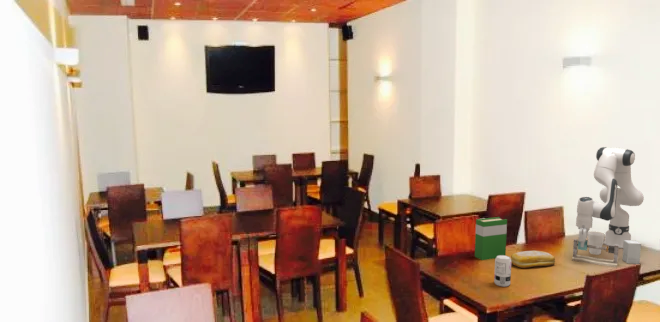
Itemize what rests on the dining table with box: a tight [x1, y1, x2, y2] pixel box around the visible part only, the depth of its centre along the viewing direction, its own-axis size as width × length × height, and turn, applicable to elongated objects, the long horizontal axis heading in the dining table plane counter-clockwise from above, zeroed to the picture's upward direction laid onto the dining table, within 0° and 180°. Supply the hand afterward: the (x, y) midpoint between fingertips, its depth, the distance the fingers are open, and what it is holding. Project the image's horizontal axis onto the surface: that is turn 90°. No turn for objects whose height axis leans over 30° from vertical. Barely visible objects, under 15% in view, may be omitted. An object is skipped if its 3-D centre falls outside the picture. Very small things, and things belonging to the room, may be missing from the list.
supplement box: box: [622, 239, 642, 265], centre depth 307 cm, size 7×7×13 cm
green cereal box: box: [474, 216, 508, 261], centre depth 316 cm, size 18×7×24 cm, turn 111°
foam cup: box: [587, 230, 606, 256], centre depth 324 cm, size 10×9×13 cm
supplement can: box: [493, 255, 512, 288], centre depth 270 cm, size 8×8×15 cm
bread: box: [510, 250, 556, 269], centre depth 302 cm, size 13×26×8 cm, turn 109°
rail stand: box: [571, 238, 619, 268], centre depth 307 cm, size 10×24×12 cm, turn 59°
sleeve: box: [577, 239, 589, 251], centre depth 310 cm, size 4×5×5 cm
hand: (582, 245), depth 310 cm, fingers closed on sleeve, 4 cm apart
